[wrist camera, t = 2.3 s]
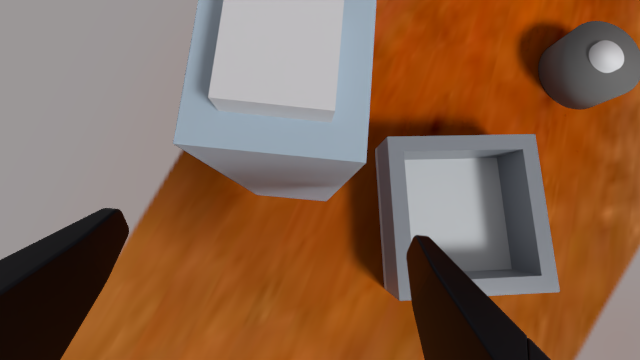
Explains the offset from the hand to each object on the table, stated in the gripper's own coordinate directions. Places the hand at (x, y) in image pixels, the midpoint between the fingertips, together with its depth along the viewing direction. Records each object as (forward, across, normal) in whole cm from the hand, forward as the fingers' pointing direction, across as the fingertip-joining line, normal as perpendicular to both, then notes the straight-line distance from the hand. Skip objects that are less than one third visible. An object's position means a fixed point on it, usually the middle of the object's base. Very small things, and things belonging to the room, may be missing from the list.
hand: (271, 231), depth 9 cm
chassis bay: (+9, -11, +7) cm, 16 cm away
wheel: (+18, -22, -2) cm, 29 cm away
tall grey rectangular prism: (+11, 0, +5) cm, 12 cm away
